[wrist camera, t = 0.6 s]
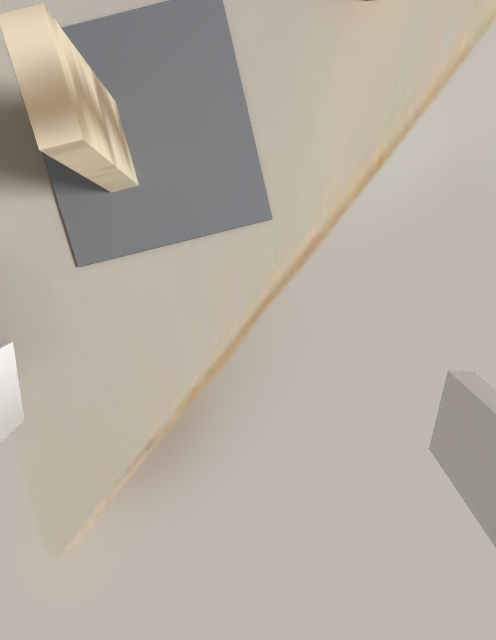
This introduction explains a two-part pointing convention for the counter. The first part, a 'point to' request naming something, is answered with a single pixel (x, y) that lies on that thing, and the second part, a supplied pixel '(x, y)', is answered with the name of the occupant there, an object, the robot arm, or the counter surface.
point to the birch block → (67, 100)
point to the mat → (165, 133)
